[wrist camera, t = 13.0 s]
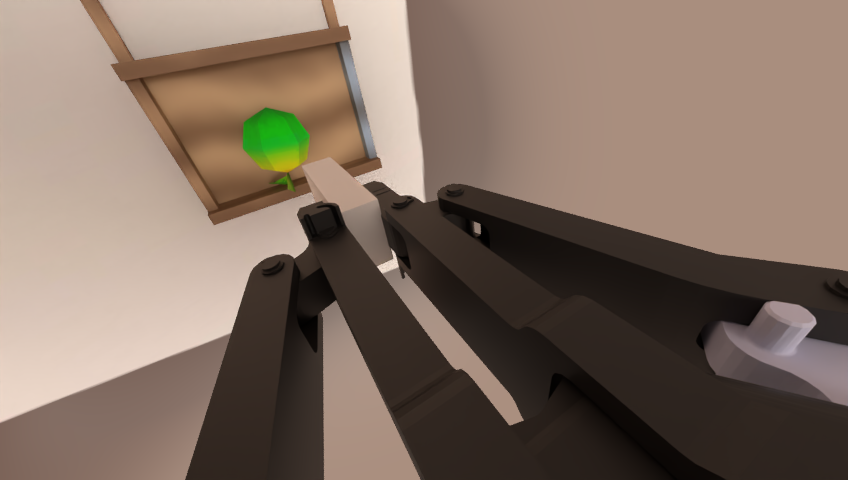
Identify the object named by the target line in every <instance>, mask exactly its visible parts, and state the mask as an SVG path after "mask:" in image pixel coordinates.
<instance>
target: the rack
mask: <svg viewBox="0 0 848 480" xmlns="http://www.w3.org/2000/svg"><path fill="white" fill-rule="evenodd" d="M80 1H81V3H82V4H83V6H84V7H85V9H86V11H87V12H88V14H89V15H90V17H91V19H92V20H93V22H94V23H95V25H96V26H97V28H98V30H99V31H100V33H101V34H102V36H103V38H104V39H105V41H106V42H107V44H108V46H109V47H110V49H111V50H112V52H113V54H114V55H115V57H116V58H117V60H118V61H119V63H117V64H111V66H112V67H113V69H114V70H115V72H116V74H117V75H118V77H119V78H120V80H121V81H125V82H126V84H127V85H128V87H129V88H130V90H131V92H132V93H133V95H134V96H135V98H136V99H137V101H138V103H139V104H140V106H141V107H142V109H143V110H144V112H145V114H146V115H147V117H148V118H149V120H150V121H151V123H152V125H153V126H154V128H155V129H156V131H157V132H158V134H159V135H160V137H161V139H162V140H163V142H164V143H165V145H166V146H167V148H168V150H169V151H170V153H171V154H172V156H173V157H174V159H175V161H176V162H177V164H178V165H179V167H180V168H181V170H182V171H183V173H184V175H185V176H186V178H187V179H188V181H189V182H190V184H191V186H192V187H193V189H194V190H195V192H196V193H197V195H198V197H199V198H200V200H201V201H202V203H203V204H204V206H205V208H206V209H207V211H208V216H209V218H210V220H211V221H212V223H213V224H214V225H216V224H219V223H222V222H225V221H228V220H230V219H233V218H236V217H239V216H242V215H245V214H248V213H251V212H254V211H257V210H260V209H263V208H265V207H268V206H271V205H274V204H277V203H280V202H283V201H286V200H289V199H292V198H295V197H298V196H300V195H303V194H306V193H309V192H312V191H311V189H310V186H309V184H308V181H307V179H306V176H305V174H304V171H303V169H302V165H306V164H309V163H312V162H315V161H319V160H322V159H325V158H328V157H331V158H332V159H333V160H334V161H335V162H336V163H338V164H339V165H340V166H341V167H342V168H343V169H344V170H345V171H347V172H348V173H349V174H350V175H351V176H352V177H356V176H359V175H362V174H365V173H368V172H370V171H373V170H376V169H379V168H382V165H381V161H380V158H378V157H377V155H376V151H375V147H374V143H373V139H372V135H371V131H370V126H369V122H368V118H367V114H366V110H365V106H364V102H363V98H362V94H361V90H360V86H359V82H358V78H357V74H356V70H355V66H354V62H353V58H352V54H351V50H350V46H349V42H348V40H351V37H350V33H349V29H348V26H342V27H339V24H338V20H337V16H336V12H335V8H334V4H333V0H321V1H322V5H323V8H324V12H325V16H326V19H327V23H328V27H329V29H324V30H317V31H311V32H305V33H299V34H293V35H287V36H281V37H275V38H269V39H263V40H257V41H251V42H244V43H238V44H232V45H226V46H220V47H214V48H208V49H202V50H196V51H190V52H184V53H178V54H171V55H165V56H159V57H153V58H147V59H141V60H135V61H134V59H133V57H132V56H131V54H130V52H129V51H128V49H127V47H126V46H125V44H124V42H123V41H122V39H121V37H120V36H119V34H118V32H117V31H116V29H115V27H114V26H113V24H112V22H111V21H110V19H109V17H108V16H107V14H106V12H105V11H104V9H103V7H102V6H101V4H100V2H99V1H98V0H80ZM265 107H267V108H271V109H275V110H280V111H284V112H288V113H293V114H294V115H295V116H296V118H297V119H298V120H299V122H300V123H301V124H302V126H303V127H304V128H305V130H306V131H307V132H308V134H309V135H310V138H309V147H308V156H307V159H306V160H305V161H304V162H303V163H302V164H300V165H299V166H298V167H296V168H294V169H293V170H291V171H290V172H289V174H290V177H291V180H292V183H293V185H294V188H295V191H296V192H294V191H291V190H288V185H282V184H269V183H272V182H275V181H278V180H280V179H281V178H283V177H285V176H287V172H280V171H272V170H265V169H261V168H260V167H259V166H258V164H257V163H256V162H255V161H254V160H253V159H252V158H251V157H250V156H249V155H248V154H247V153H246V152H245V151H244V150H243V126H244V121H246V120H247V119H249V118H250V117H252V116H253V115H255V114H256V113H258V112H259V111H261V110H262V109H264V108H265Z"/></svg>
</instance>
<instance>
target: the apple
mask: <svg viewBox="0 0 848 480" xmlns="http://www.w3.org/2000/svg"><path fill="white" fill-rule="evenodd" d="M309 138H310V135H309V134H308V132H307V131H306V130H305V128H304V127H303V126H302V124H301V123H300V122H299V120H298V119H297V118H296V116H295V115H294V114H293V113H288V112H284V111H280V110H275V109H271V108H267V107H265V108H264V109H262V110H261V111H259V112H258V113H256V114H255V115H253V116H252V117H250V118H249V119H247V120H246V121H244V126H243V150H244V151H245V152H246V153H247V154H248V155H249V156H250V157H251V158H252V159H253V160H254V161H255V162H256V163H257V164H258V166H259V167H260V168H261V169H265V170H272V171H280V172H287V176H285V177H283V178H281V179H280V180H278V181H275V182H272V183H269V184H282V185H288V190H291V191H294V192H296V191H295V188H294V185H293V183H292V180H291V177H290V174H289V172H290V171H291V170H293V169H294V168H296V167H298V166H299V165H300V164H302V163H303V162H304V161H305V160H306V159H307V156H308V147H309Z"/></svg>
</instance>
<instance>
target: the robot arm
mask: <svg viewBox="0 0 848 480" xmlns="http://www.w3.org/2000/svg"><path fill="white" fill-rule="evenodd" d="M302 169H303V171H304V174H305V176H306V179H307V181H308V184H309V186H310V189H311V191H312V194H313V196H314V199H315V201H316V203H314V204H311V205H308V206H306V207H303V208H300V209H299V211H298V214H297V216H298V218H299V220H300V223H301V225H302V227H303V229H304V231H305V234H306V236H307V238H308V240H309V245H308V247H307V249H306V250H305V251H304V252H303V253H302V254H300V255H299V256H298V257H296V258H293V257H292V256H290V255H286V254H281V255H275V256H272V257H269V258H266V259H264V260H263V261H261V262H260V263H259V264H258V265H257V266H255V267H254V268H253V270H252V271H251V273H250V276H249V279H248V282H247V285H246V288H245V292H244V295H243V298H242V301H241V304H240V307H239V311H238V314H237V317H236V320H235V323H234V327H233V330H232V333H231V336H230V339H229V343H228V346H227V349H226V352H225V355H224V358H223V361H222V365H221V368H220V371H219V374H218V378H217V381H216V384H215V387H214V390H213V393H212V396H211V400H210V403H209V406H208V409H207V412H206V415H205V419H204V422H203V425H202V428H201V431H200V435H199V438H198V441H197V444H196V447H195V451H194V454H193V457H192V460H191V463H190V466H189V469H188V473H187V476H186V479H185V480H324V443H323V442H324V439H323V438H324V437H323V436H324V433H323V317H322V314H321V311H323V310H324V309H325V308H326V307H328V306H329V305H330V304H332V303H333V302H334V301H335V300H336V301H337V303H338V305H339V307H340V309H341V311H342V313H343V316H344V318H345V320H346V322H347V324H348V326H349V328H350V330H351V332H352V334H353V337H354V339H355V341H356V343H357V345H358V347H359V349H360V352H361V354H362V356H363V358H364V360H365V362H366V364H367V367H368V369H369V371H370V372H371V375H372V377H373V379H374V381H375V383H376V385H377V388H378V390H379V392H380V394H381V396H382V398H383V400H384V402H385V405H386V407H387V409H388V411H389V413H390V415H391V417H392V420H393V422H394V424H395V426H396V428H397V430H398V432H399V434H400V436H401V439H402V441H403V443H404V445H405V447H406V449H407V451H408V453H409V455H410V458H411V460H412V461H413V464H414V466H415V468H416V470H417V472H418V475H419V477H420V479H421V480H848V271H843V270H837V269H829V268H821V267H814V266H806V265H798V264H790V263H782V262H774V261H766V260H759V259H750V258H743V257H735V256H727V255H719V254H715V253H712V252H708V251H704V250H701V249H697V248H693V247H690V246H686V245H682V244H678V243H675V242H671V241H668V240H664V239H661V238H657V237H653V236H650V235H646V234H642V233H639V232H635V231H632V230H628V229H624V228H621V227H617V226H613V225H610V224H606V223H602V222H599V221H595V220H591V219H588V218H584V217H581V216H577V215H573V214H570V213H566V212H562V211H558V210H555V209H552V208H548V207H544V206H541V205H537V204H533V203H530V202H526V201H522V200H519V199H515V198H512V197H508V196H504V195H500V194H497V193H493V192H490V191H486V190H482V189H479V188H475V187H472V186H468V185H463V184H451V185H447V186H445V187H443V188H441V189H440V190H439V191H438V193H437V196H438V200H436V201H432V202H427V203H423V202H421V201H420V200H418V199H417V198H415V197H413V196H407V195H405V196H399V195H398V194H397V193H395V192H394V191H393V190H391V189H390V188H389V187H387V186H386V185H385V184H383V183H381V182H376V181H373V182H370V183H367V184H364V185H361V184H360V183H359V182H358V181H357V180H356V179H354V178H353V177H352V176H351V175H350V174H349V173H348V172H347V171H345V170H344V169H343V168H342V167H341V166H340V165H339V164H338V163H336V162H335V161H334V160H333V159H332V158H331V157H328V158H325V159H322V160H319V161H315V162H312V163H309V164H306V165H302ZM474 222H477V223H480V224H481V234H477V233H475V232H474ZM391 249H392V250H393V251H394V252H395V253H396V257H397V261H398V265H399V269H400V273H401V276H402V278H403V279H404V278H405V275H404V272H406V273H407V274H408V276H409V277H410V278H411V279H412V280H413V281H414V283H415V284H416V285H417V286H418V287H419V288H420V289H421V291H422V292H423V293H424V294H425V295H426V297H427V298H428V299H429V300H430V301H431V302H432V304H433V305H434V306H435V307H436V308H437V309H438V310H439V312H440V313H441V314H442V315H443V316H444V317H445V319H446V320H447V321H448V322H449V323H450V325H451V326H452V327H453V328H454V329H455V330H456V332H457V333H458V334H459V335H460V336H461V337H462V338H463V340H464V341H465V342H466V343H467V344H468V345H469V346H470V348H471V349H472V350H473V351H474V352H475V354H476V355H477V356H478V357H479V358H480V359H481V361H482V362H483V363H484V364H485V365H486V366H487V368H488V369H489V370H490V371H491V372H492V373H493V375H494V376H495V377H496V378H497V379H498V380H499V382H500V383H501V384H502V385H503V386H504V387H505V389H506V390H507V391H508V392H509V393H510V395H511V396H512V397H513V399H514V401H515V403H516V405H517V407H518V410H519V412H520V414H521V416H522V418H523V419H524V421H521V422H519V423H516V424H513V425H511V426H509V425H508V423H507V422H506V421H505V419H504V418H503V417H502V416H501V415H500V413H499V412H498V411H497V409H496V408H495V407H494V406H493V404H492V403H491V402H490V400H489V399H488V398H487V397H486V395H485V394H484V393H483V392H482V391H481V389H480V388H479V387H478V385H477V384H476V383H475V381H474V380H473V379H472V378H471V377H470V376H469V375H468V374H467V373H466V372H465V371H463V370H462V369H459V370H456V369H454V368H453V367H452V366H451V365H450V363H449V362H448V361H447V359H446V358H445V357H444V355H443V354H442V353H441V352H440V350H439V349H438V348H437V346H436V345H435V344H434V342H433V341H432V340H431V339H430V337H429V336H428V334H427V333H426V332H425V331H424V329H423V328H422V326H421V325H420V324H419V322H418V321H417V320H416V318H415V317H414V316H413V315H412V313H411V312H410V310H409V309H408V308H407V306H406V305H405V304H404V302H403V301H402V300H401V299H400V297H399V296H398V294H397V293H396V292H395V290H394V289H393V288H392V286H391V285H390V284H389V282H388V281H387V280H386V278H385V277H384V276H383V274H382V273H381V272H380V270H379V269H378V268H377V266H379V265H381V264H383V263H385V262H387V261H389V260H392V259H393V255H392V251H391Z"/></svg>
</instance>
